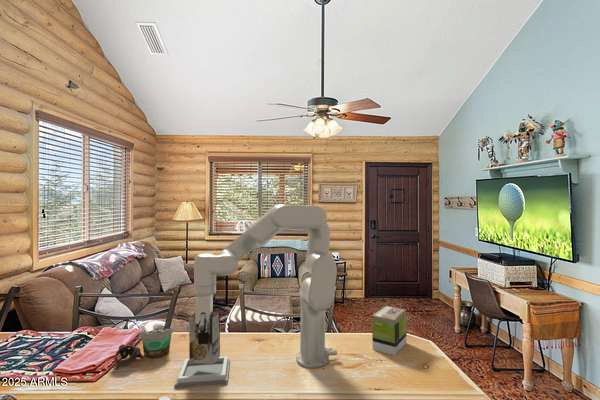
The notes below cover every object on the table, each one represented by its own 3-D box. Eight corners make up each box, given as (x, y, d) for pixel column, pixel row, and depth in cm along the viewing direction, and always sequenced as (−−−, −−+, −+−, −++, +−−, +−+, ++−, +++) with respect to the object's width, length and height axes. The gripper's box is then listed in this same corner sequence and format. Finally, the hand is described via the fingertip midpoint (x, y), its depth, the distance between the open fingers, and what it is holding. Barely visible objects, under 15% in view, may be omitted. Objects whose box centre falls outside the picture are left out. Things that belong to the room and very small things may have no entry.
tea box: (384, 337, 146) (385, 304, 146) (407, 343, 140) (407, 309, 140) (371, 349, 134) (371, 314, 134) (395, 356, 128) (395, 319, 128)
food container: (140, 363, 121) (140, 336, 122) (139, 356, 127) (139, 330, 127) (174, 356, 127) (175, 330, 127) (173, 349, 133) (173, 325, 133)
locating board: (229, 361, 123) (229, 354, 123) (227, 383, 108) (227, 376, 108) (183, 364, 121) (183, 358, 121) (174, 387, 106) (174, 380, 106)
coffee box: (220, 356, 117) (221, 311, 117) (212, 365, 110) (212, 318, 110) (197, 353, 119) (197, 309, 119) (188, 362, 112) (188, 316, 112)
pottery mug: (150, 362, 123) (143, 349, 119) (126, 383, 116) (118, 369, 112) (133, 346, 129) (126, 333, 125) (109, 365, 123) (102, 351, 119)
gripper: (198, 283, 123) (197, 329, 123) (189, 296, 105) (189, 350, 105) (218, 282, 124) (218, 328, 124) (213, 295, 107) (213, 348, 107)
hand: (204, 338), depth 115 cm, fingers closed on coffee box, 8 cm apart
